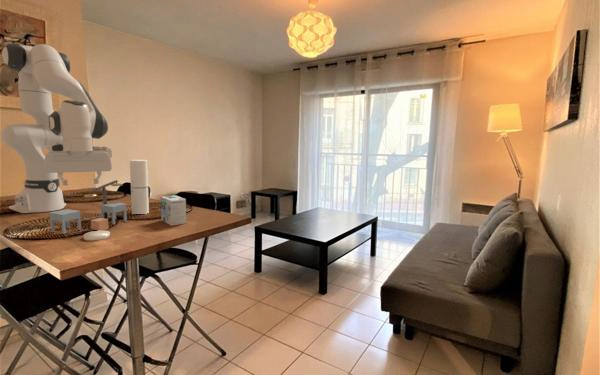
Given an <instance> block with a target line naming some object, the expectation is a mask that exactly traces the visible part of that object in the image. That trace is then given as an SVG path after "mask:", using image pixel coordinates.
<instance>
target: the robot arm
mask: <svg viewBox="0 0 600 375" xmlns="http://www.w3.org/2000/svg"><path fill="white" fill-rule="evenodd" d="M1 53H2V54H1V56H2V60H3V62H4V64H5V66H6V67H7V68H8V69H10V70H12V71H15V72H18V82H17V83H18V84H17V85H18V98H19V107H20V109H21V111H22V112H23V113H25V114H26V115H28V116H31V117H32V118H34V120H35V122H36V124H35V123H14V124H6V125H5V126H4V127H3V128H2V130H1V132H0V136H1V137H0V138H1V141H2V142H3V143H4V145H6V146H7V147H8V148H10V149H12V150H14V151H15V152H16V153H17V154H18V155H19V156H20V157H21V159H22V162H23V164H24V168H25V174H26V179H25V181H23V184H24V188H23V189H22V190H21V191H20V192H19V193H17V194H16V195H15V197H14V202H15V203H14V204H13V205H9V206H8V209H9V210H11V211H15V212H18V213H21V214H29V213H45V212H46V213H47V212H56V211H60V210H64V208H65V207H66V206H67V203H66V202H65V201H64V196H63V191H62V188H60V180H61V181H62V182H61V183H62V184H61V185H62V186H68V185H69V184H68V179H64V177H63V175H64V174H63V173H88V172H89V173H91V172H96V175H97V176H96V178H93V184H96V185H97V184H99V179H100V178H101V176H102V174H103V173H102V172H110V171H112V169H113V164H112V160H111V158H112V156H113V151H112V149H110V148H109V147H107V146H93V139H97V140H99V139H101V138H103V137H104V136H105V135H106V134H107V133H108V131H109V125H108V121H107V119H106V118H105V117H104V115H103V114H102V113H101V112H100V110H99V109H98V107H97V105H96V104H95V102H94V100H93V99H92V97H91V96H90V94H89V92H88V91H87V89H86V88H85V86H84V84H82V82H80V81H79V80H77V79H75V77H73V76H72V75H71V74H70V72H71V62H70V59H69V57H68V56H67V55H66V54H65V53H62V52H60V51H58V50H57V49H56V48H54V47H53V46H50V45H48V44H44V43H42V44H41V43H40V44H35V45H34V46H32V45H23V44H19V43H7V44H6V45H4V47H3V49H2V52H1ZM52 94H56V95H60V96H63V97H66V98H69V99H71V100H67V99H66V100H63V101H61V102H60V108H59V110H54V105H53V98H52ZM42 150H47V151H48V152H47V153H46V155H45V154H44V153H43V151H42Z"/></svg>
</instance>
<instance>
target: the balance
mask: <svg viewBox="0 0 600 375" xmlns="http://www.w3.org/2000/svg"><path fill="white" fill-rule="evenodd" d="M109 186H111V187H121V186H123V183H119V181H118V180H117V179H116V180H113V181H111V182H108V183H105V184H103V185H100V186H98V187H95V188H93V189H91V190H89V194H84V195H83V198H96V197H98V194H97V193H95V192H98V191H99V190H102V192H101V193H102V205H103V204H108V201H107V200H108V199H107V198H108V197H107V187H109ZM98 218H101V215H98V216H96V217H95V219H98ZM104 219H108V221H112V215H109V213H108V212H104Z"/></svg>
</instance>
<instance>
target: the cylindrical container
mask: <svg viewBox="0 0 600 375" xmlns="http://www.w3.org/2000/svg"><path fill="white" fill-rule="evenodd" d="M129 172H130V174H129V175H130V195H131V196H130V197H131V215H133V214H145V215H148V214H149V213H150V211H149V210H150V207H149V206H150V205H149V172H148V160H147V159H129ZM147 213H148V214H147Z"/></svg>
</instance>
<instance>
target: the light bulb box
mask: <svg viewBox="0 0 600 375" xmlns="http://www.w3.org/2000/svg"><path fill="white" fill-rule="evenodd" d="M160 202H161V203H160V204H161V205H160V206H161V208H160V209H161V211H160V212H161V218H160V220H161V221H162V222H164V223H166V224H167V225H169V226H179V225H184V224H187V199H186V198H184V197H181V196H178V195H176V194H173V195H164V196H160Z"/></svg>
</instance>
